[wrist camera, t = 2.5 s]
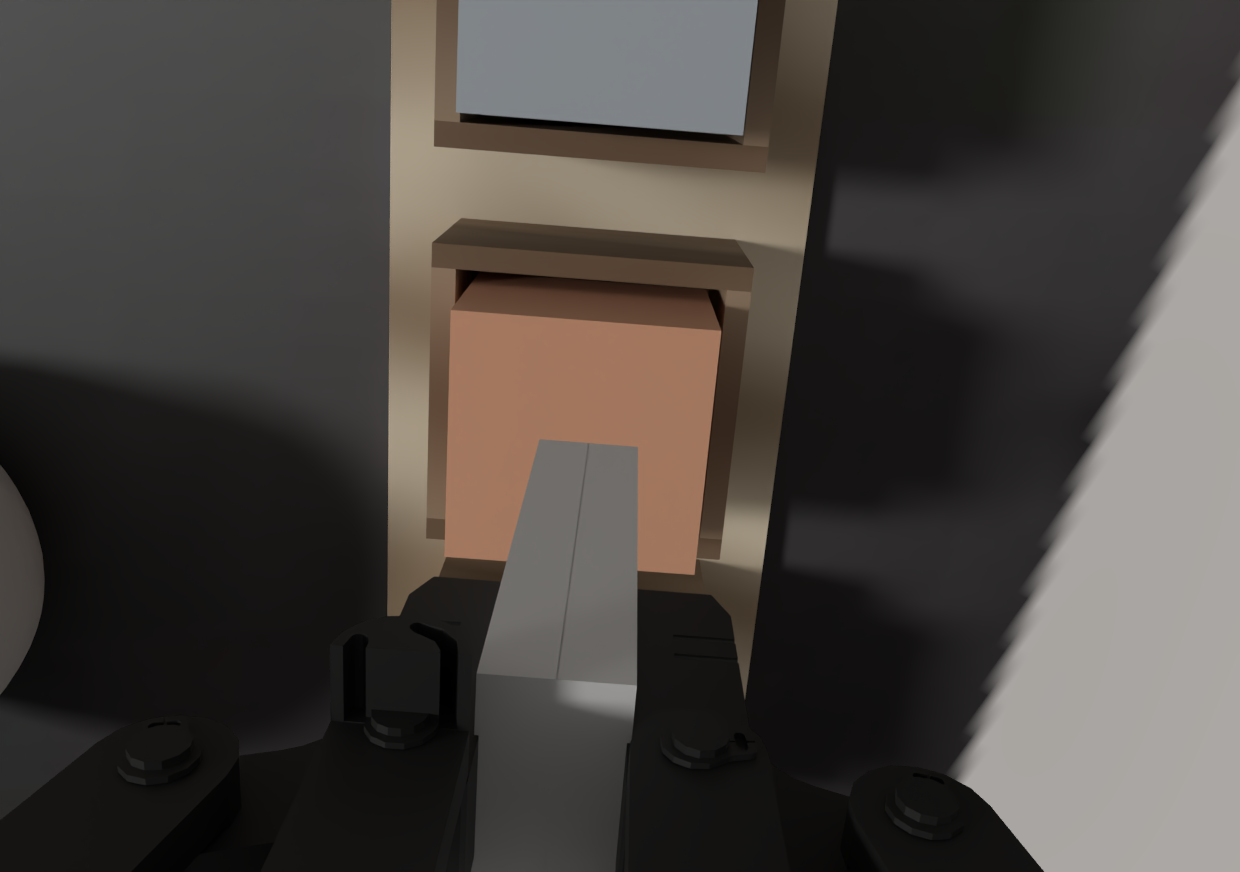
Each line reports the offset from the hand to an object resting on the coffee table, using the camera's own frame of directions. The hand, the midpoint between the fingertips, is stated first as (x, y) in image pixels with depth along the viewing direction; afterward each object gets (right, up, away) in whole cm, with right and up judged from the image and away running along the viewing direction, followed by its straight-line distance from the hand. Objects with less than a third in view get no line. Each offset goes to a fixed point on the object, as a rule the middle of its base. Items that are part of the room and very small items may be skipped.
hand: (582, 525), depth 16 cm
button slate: (0, +10, +5) cm, 12 cm away
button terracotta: (0, +2, +8) cm, 8 cm away
